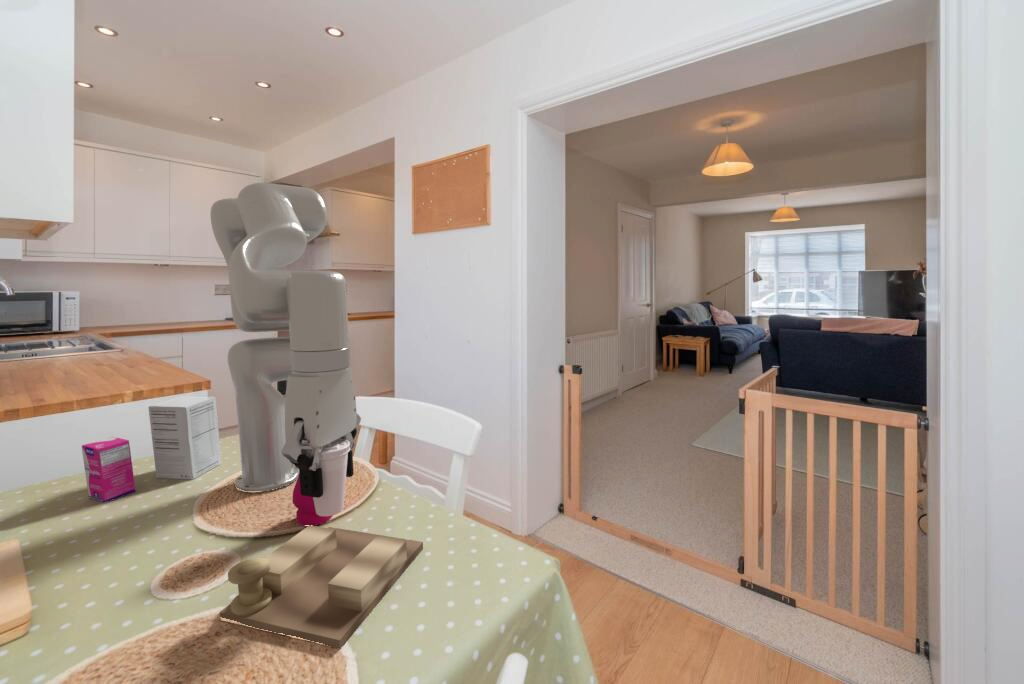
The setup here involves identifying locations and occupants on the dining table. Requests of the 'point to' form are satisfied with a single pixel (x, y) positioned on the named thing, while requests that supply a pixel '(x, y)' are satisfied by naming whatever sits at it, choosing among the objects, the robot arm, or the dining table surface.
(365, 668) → the dining table surface
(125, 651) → the dining table surface
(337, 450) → the smoothie
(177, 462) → the supplement box
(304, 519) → the pepper mill
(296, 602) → the notched board
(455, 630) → the dining table surface
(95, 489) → the supplement box
